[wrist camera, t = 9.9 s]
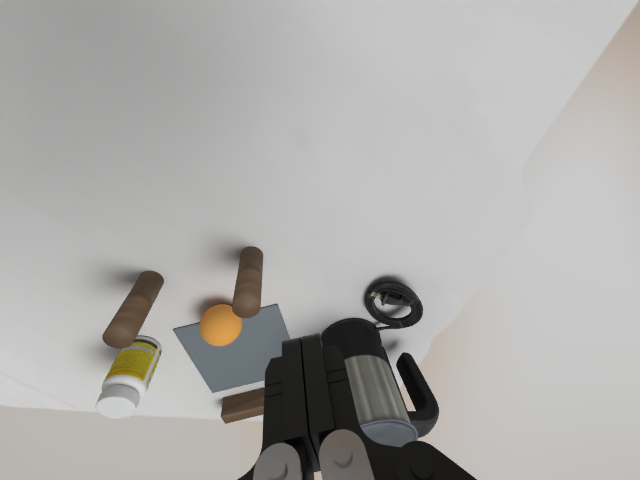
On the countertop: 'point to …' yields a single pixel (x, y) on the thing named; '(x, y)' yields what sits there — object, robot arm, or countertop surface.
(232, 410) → the rail
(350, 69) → the countertop surface
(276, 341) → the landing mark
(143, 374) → the supplement bottle
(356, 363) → the milk frother
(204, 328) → the ball
